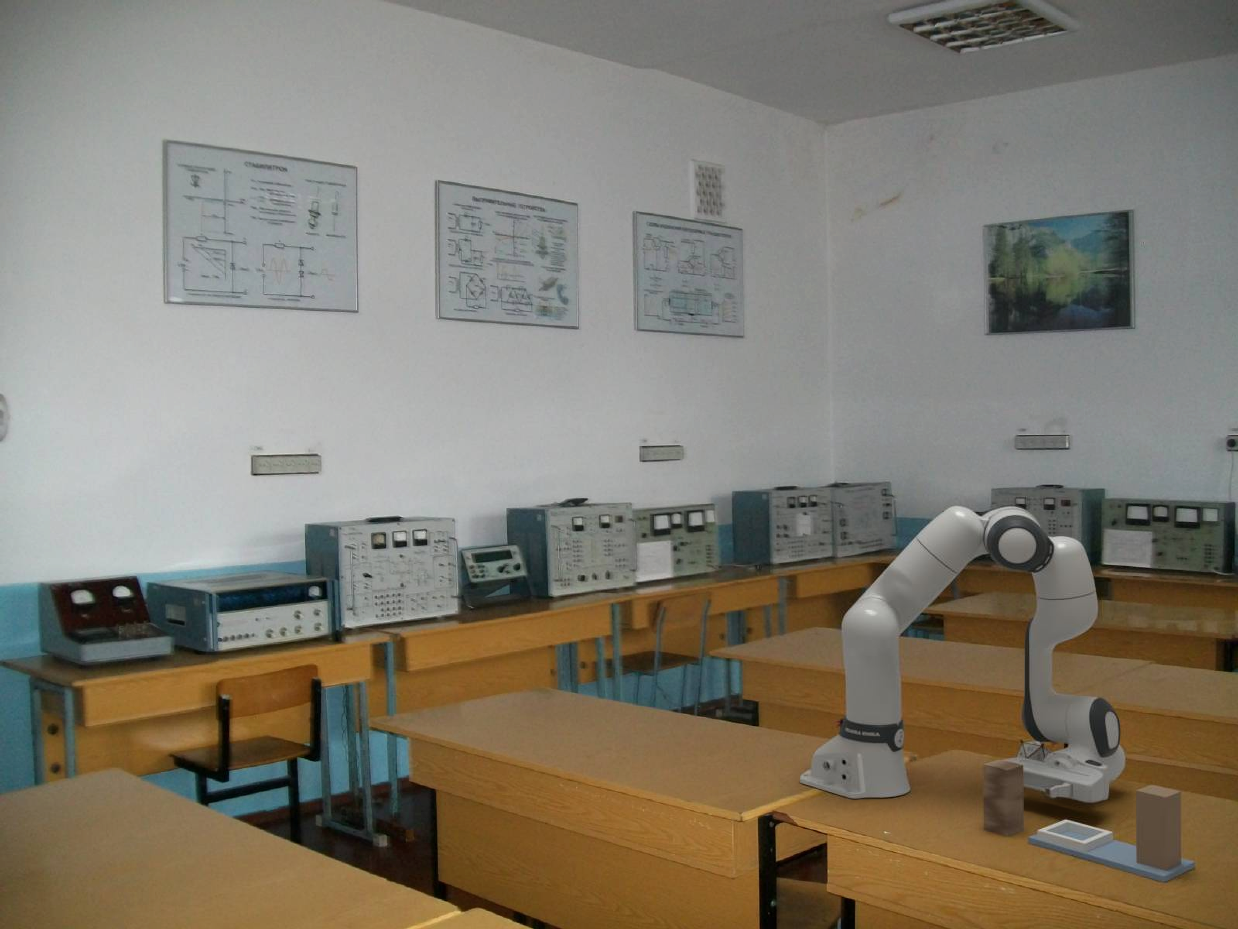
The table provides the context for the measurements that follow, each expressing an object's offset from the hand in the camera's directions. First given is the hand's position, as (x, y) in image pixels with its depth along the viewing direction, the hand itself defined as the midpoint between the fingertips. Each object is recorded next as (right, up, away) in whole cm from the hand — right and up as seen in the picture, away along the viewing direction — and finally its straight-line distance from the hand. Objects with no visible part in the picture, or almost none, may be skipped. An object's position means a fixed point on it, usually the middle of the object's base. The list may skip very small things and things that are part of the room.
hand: (1025, 787), depth 222 cm
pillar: (-6, -7, -4) cm, 10 cm away
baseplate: (+8, -7, -18) cm, 21 cm away
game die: (+12, -6, +28) cm, 31 cm away
